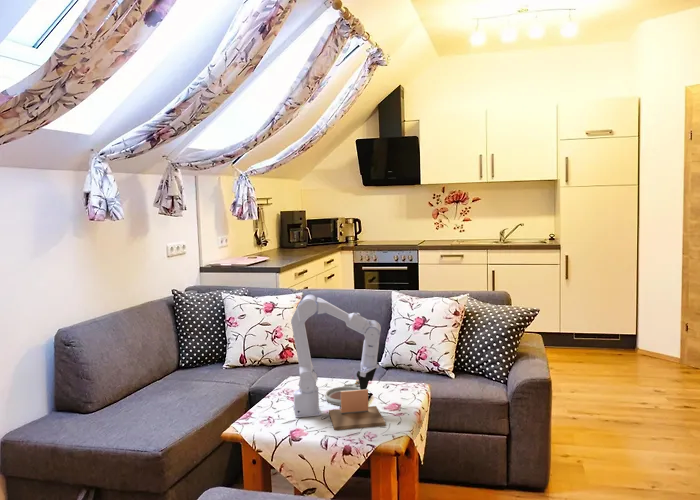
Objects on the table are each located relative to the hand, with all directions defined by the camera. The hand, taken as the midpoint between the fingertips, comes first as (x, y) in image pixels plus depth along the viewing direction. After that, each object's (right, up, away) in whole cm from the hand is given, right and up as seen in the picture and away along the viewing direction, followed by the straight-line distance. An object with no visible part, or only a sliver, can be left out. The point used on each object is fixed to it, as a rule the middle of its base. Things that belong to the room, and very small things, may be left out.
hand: (366, 384), depth 232 cm
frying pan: (-6, -8, +16) cm, 19 cm away
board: (-4, -10, -11) cm, 15 cm away
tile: (-5, -4, -8) cm, 10 cm away
